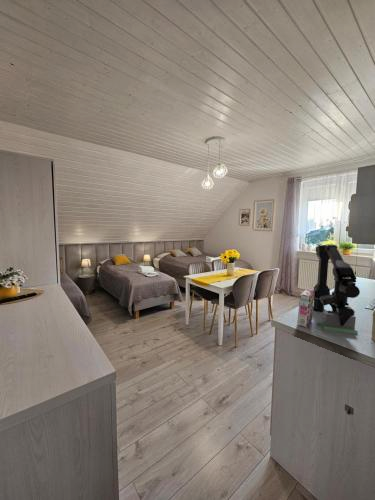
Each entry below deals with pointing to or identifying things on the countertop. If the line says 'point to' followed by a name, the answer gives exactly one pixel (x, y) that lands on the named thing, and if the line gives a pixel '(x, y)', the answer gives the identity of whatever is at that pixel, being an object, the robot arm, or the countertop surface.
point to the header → (338, 328)
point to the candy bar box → (305, 308)
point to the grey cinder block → (337, 320)
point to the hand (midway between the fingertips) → (338, 321)
